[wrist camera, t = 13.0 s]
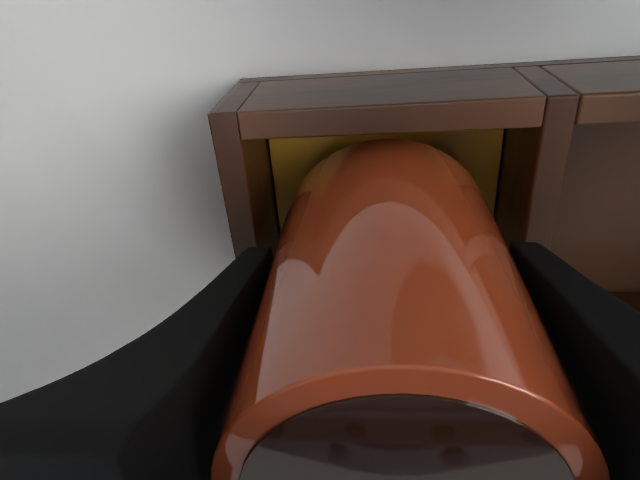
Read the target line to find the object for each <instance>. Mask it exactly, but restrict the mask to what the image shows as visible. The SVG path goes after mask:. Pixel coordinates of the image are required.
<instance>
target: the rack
mask: <svg viewBox="0 0 640 480" xmlns="http://www.w3.org/2000/svg"><path fill="white" fill-rule="evenodd" d="M208 119H209V125H210V130H211V135H212V140H213V145H214V150H215V155H216V160H217V166H218V171H219V176H220V181H221V186H222V191H223V196H224V201H225V206H226V212H227V217H228V222H229V227H230V232H231V237H232V242H233V247H234V253H235V258H237V257H238V256H239V255H240V254H241V253H242V252H243V251H244V250H246V249H247V248H248V247H272V254H273V257H274V254H275V251H276V247H277V244H278V241H279V237H280V234H281V231H282V228H283V224H284V221H285V218H286V215H287V211H288V208H289V205H290V202H291V200H292V197H293V195H294V193H295V191H296V189H297V188H298V186H299V184H300V183H301V181H302V180H303V179H304V178H305V176H306V175H307V174H308V173H309V172H310V171H311V170H312V169H313V168H314V167H315V166H316V165H317V164H318V163H320V162H321V161H322V160H324V159H325V158H327V157H328V156H329V155H331V154H333V153H335V152H337V151H339V150H341V149H343V148H346V147H348V146H351V145H354V144H357V143H361V142H365V141H369V140H378V139H403V140H409V141H415V142H419V143H422V144H426V145H429V146H431V147H434V148H436V149H438V150H441V151H443V152H444V153H446V154H448V155H449V156H451V157H452V158H454V159H455V160H456V161H458V162H459V163H460V164H461V165H463V166H464V167H465V168H466V169H467V171H468V172H469V173H470V174H471V175H472V176H473V177H474V179H475V180H476V182H477V183H478V185H479V186H480V188H481V191H482V193H483V195H484V197H485V199H486V201H487V204H488V206H489V208H490V210H491V212H492V214H493V217H494V219H495V221H496V223H497V225H498V227H499V230H500V232H501V234H502V236H503V238H504V240H505V243H506V245H507V247H508V249H509V250H510V243H511V242H538V243H540V244H541V245H543V246H544V247H546V248H547V249H548V250H550V251H551V252H553V253H554V254H555V255H557V256H558V257H559V258H561V259H562V260H564V261H565V262H566V263H568V264H569V265H570V266H572V267H573V268H574V269H576V270H577V271H579V272H580V273H581V274H583V275H584V276H585V277H587V278H588V279H590V280H591V281H593V282H594V283H595V284H597V285H598V286H600V287H601V288H603V289H604V290H606V291H607V292H609V293H610V294H612V295H613V296H615V297H616V298H618V299H619V300H621V301H623V302H624V303H626V304H627V305H629V306H631V307H632V308H634V309H635V310H637V311H639V312H640V56H628V57H610V58H593V59H576V60H559V61H542V62H524V63H507V64H490V65H473V66H456V67H438V68H421V69H404V70H387V71H370V72H352V73H335V74H318V75H301V76H284V77H267V78H249V79H241V80H240V81H239V82H238V83H237V84H236V85H235V86H234V87H233V88H232V89H231V90H230V91H229V92H228V93H227V94H226V95H225V96H224V97H223V98H222V99H221V100H220V101H219V102H218V104H217V105H216V106H215V107H214V108H213V109H212V110H211V111H210V112H209V113H208Z"/></svg>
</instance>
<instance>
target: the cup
mask: <svg viewBox="0 0 640 480" xmlns="http://www.w3.org/2000/svg"><path fill="white" fill-rule="evenodd" d="M211 480H611V478H610V473H609V468H608V464H607V461H606V459H605V457H604V455H603V453H602V451H601V448H600V446H599V444H598V442H597V440H596V438H595V435H594V433H593V431H592V429H591V427H590V425H589V422H588V420H587V418H586V416H585V414H584V412H583V409H582V407H581V405H580V403H579V401H578V399H577V396H576V394H575V392H574V390H573V388H572V386H571V383H570V381H569V379H568V377H567V375H566V373H565V370H564V368H563V366H562V364H561V362H560V360H559V357H558V355H557V353H556V351H555V349H554V347H553V344H552V342H551V340H550V338H549V336H548V334H547V331H546V329H545V327H544V325H543V323H542V321H541V318H540V316H539V314H538V312H537V310H536V308H535V305H534V303H533V301H532V299H531V297H530V295H529V292H528V290H527V288H526V286H525V284H524V282H523V279H522V277H521V275H520V273H519V271H518V269H517V266H516V264H515V262H514V260H513V258H512V256H511V253H510V251H509V249H508V247H507V245H506V243H505V240H504V238H503V236H502V234H501V232H500V230H499V227H498V225H497V223H496V221H495V219H494V217H493V214H492V212H491V210H490V208H489V206H488V204H487V201H486V199H485V197H484V195H483V193H482V191H481V188H480V186H479V185H478V183H477V182H476V180H475V179H474V177H473V176H472V175H471V174H470V173H469V172H468V171H467V169H466V168H465V167H464V166H463V165H461V164H460V163H459V162H458V161H456V160H455V159H454V158H452V157H451V156H449V155H448V154H446V153H444V152H443V151H441V150H438V149H436V148H434V147H431V146H429V145H426V144H422V143H419V142H415V141H409V140H403V139H378V140H369V141H365V142H361V143H357V144H354V145H351V146H348V147H346V148H343V149H341V150H339V151H337V152H335V153H333V154H331V155H329V156H328V157H327V158H325V159H324V160H322V161H321V162H320V163H318V164H317V165H316V166H315V167H314V168H313V169H312V170H311V171H310V172H309V173H308V174H307V175H306V176H305V178H304V179H303V180H302V181H301V183H300V184H299V186H298V188H297V189H296V191H295V193H294V195H293V197H292V200H291V202H290V205H289V208H288V211H287V215H286V218H285V221H284V224H283V228H282V231H281V234H280V237H279V241H278V244H277V247H276V251H275V254H274V257H273V260H272V264H271V267H270V270H269V273H268V277H267V280H266V283H265V287H264V290H263V293H262V296H261V300H260V303H259V306H258V309H257V313H256V316H255V319H254V323H253V326H252V329H251V332H250V336H249V339H248V342H247V345H246V349H245V352H244V355H243V359H242V362H241V365H240V368H239V372H238V375H237V378H236V381H235V385H234V388H233V391H232V395H231V398H230V401H229V404H228V408H227V411H226V414H225V417H224V421H223V424H222V427H221V431H220V434H219V437H218V440H217V444H216V447H215V450H214V454H213V458H212V463H211Z"/></svg>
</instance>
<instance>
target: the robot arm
mask: <svg viewBox="0 0 640 480" xmlns="http://www.w3.org/2000/svg"><path fill="white" fill-rule="evenodd" d="M509 251H510V253H511V256H512V258H513V260H514V262H515V264H516V266H517V269H518V271H519V273H520V275H521V277H522V279H523V282H524V284H525V286H526V288H527V290H528V292H529V295H530V297H531V299H532V301H533V303H534V305H535V308H536V310H537V312H538V314H539V316H540V318H541V321H542V323H543V325H544V327H545V329H546V331H547V334H548V336H549V338H550V340H551V342H552V344H553V347H554V349H555V351H556V353H557V355H558V357H559V360H560V362H561V364H562V366H563V368H564V370H565V373H566V375H567V377H568V379H569V381H570V383H571V386H572V388H573V390H574V392H575V394H576V396H577V399H578V401H579V403H580V405H581V407H582V409H583V412H584V414H585V416H586V418H587V420H588V422H589V425H590V427H591V429H592V431H593V433H594V435H595V438H596V440H597V442H598V444H599V446H600V448H601V451H602V453H603V455H604V457H605V459H606V461H607V464H608V468H609V473H610V478H611V480H640V312H639V311H637V310H635V309H634V308H632V307H631V306H629V305H627V304H626V303H624V302H623V301H621V300H619V299H618V298H616V297H615V296H613V295H612V294H610V293H609V292H607V291H606V290H604V289H603V288H601V287H600V286H598V285H597V284H595V283H594V282H593V281H591V280H590V279H588V278H587V277H585V276H584V275H583V274H581V273H580V272H579V271H577V270H576V269H574V268H573V267H572V266H570V265H569V264H568V263H566V262H565V261H564V260H562V259H561V258H559V257H558V256H557V255H555V254H554V253H553V252H551V251H550V250H548V249H547V248H546V247H544V246H543V245H541V244H540V243H538V242H511V243H510V250H509ZM272 260H273V254H272V247H248V248H247V249H246V250H244V251H243V252H242V253H241V254H240V255H239V256H238V257H237V258H236V259H235V260H234V261H233V262H232V263H231V264H230V265H229V266H228V267H227V268H226V269H225V270H223V271H222V272H221V273H220V274H219V275H218V276H217V277H216V278H215V279H214V280H213V281H212V282H211V283H209V284H208V285H207V286H206V287H205V288H204V289H203V290H202V291H200V292H199V293H198V294H197V295H196V296H194V297H193V298H192V299H191V300H190V301H188V302H187V303H186V304H185V305H184V306H182V307H181V308H180V309H179V310H177V311H176V312H175V313H174V314H172V315H171V316H170V317H168V318H167V319H165V320H164V321H163V322H161V323H160V324H158V325H157V326H155V327H154V328H152V329H151V330H149V331H148V332H147V333H145V334H143V335H142V336H140V337H139V338H137V339H135V340H134V341H132V342H130V343H129V344H127V345H125V346H123V347H122V348H120V349H118V350H116V351H115V352H113V353H111V354H110V355H108V356H106V357H104V358H102V359H101V360H99V361H97V362H95V363H93V364H91V365H89V366H87V367H85V368H83V369H81V370H79V371H76V372H74V373H72V374H70V375H68V376H66V377H64V378H61V379H59V380H57V381H55V382H52V383H50V384H48V385H45V386H43V387H40V388H38V389H35V390H33V391H30V392H28V393H25V394H23V395H20V396H18V397H15V398H13V399H10V400H8V401H5V402H2V403H0V480H211V463H212V458H213V454H214V450H215V447H216V444H217V440H218V437H219V434H220V431H221V427H222V424H223V421H224V417H225V414H226V411H227V408H228V404H229V401H230V398H231V395H232V391H233V388H234V385H235V381H236V378H237V375H238V372H239V368H240V365H241V362H242V359H243V355H244V352H245V349H246V345H247V342H248V339H249V336H250V332H251V329H252V326H253V323H254V319H255V316H256V313H257V309H258V306H259V303H260V300H261V296H262V293H263V290H264V287H265V283H266V280H267V277H268V273H269V270H270V267H271V264H272Z"/></svg>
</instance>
